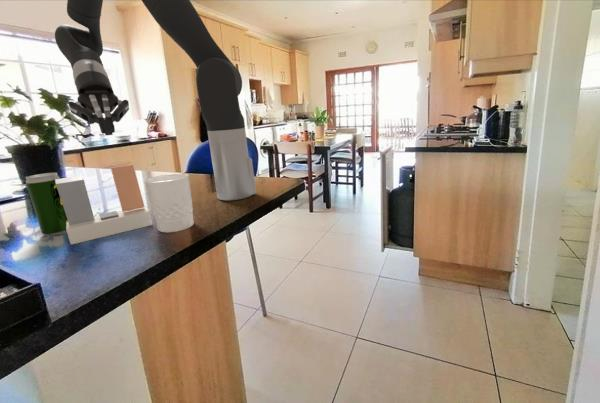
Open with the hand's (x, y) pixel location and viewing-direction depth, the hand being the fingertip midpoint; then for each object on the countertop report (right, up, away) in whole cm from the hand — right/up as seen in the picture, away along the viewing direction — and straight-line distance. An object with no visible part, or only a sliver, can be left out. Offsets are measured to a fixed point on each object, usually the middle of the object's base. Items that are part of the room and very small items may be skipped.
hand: (108, 132), depth 73 cm
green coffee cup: (-5, -22, -8) cm, 24 cm away
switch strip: (+7, -22, -9) cm, 25 cm away
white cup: (+20, -21, -10) cm, 31 cm away
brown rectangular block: (+10, -17, -8) cm, 22 cm away
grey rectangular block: (+3, -19, -13) cm, 23 cm away
